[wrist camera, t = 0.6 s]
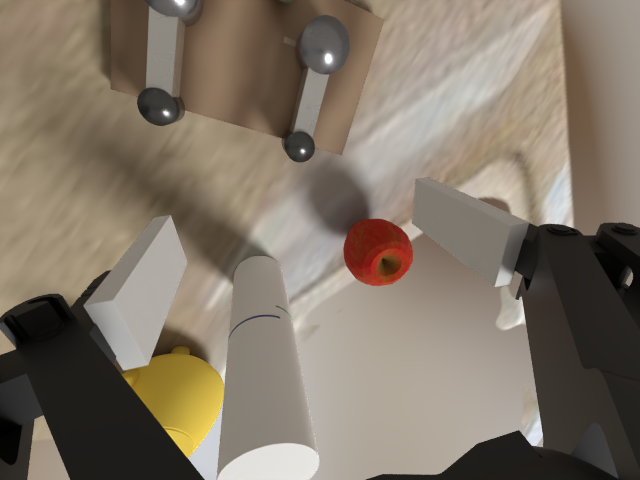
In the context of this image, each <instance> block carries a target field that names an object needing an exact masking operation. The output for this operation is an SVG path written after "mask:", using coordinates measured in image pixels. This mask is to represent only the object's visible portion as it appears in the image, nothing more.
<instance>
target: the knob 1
mask: <svg viewBox="0 0 640 480" xmlns="http://www.w3.org/2000/svg"><path fill="white" fill-rule="evenodd" d="M144 1H145V2H146V3H147V4H148V5H149V25H148V48H147V71H146V89H144V90H143V91H142V92H141V93H140V94H139V96H138V100H137V105H138V109H139V111H140V113H141V115H142V116H143V117H144V118H145V119H146V120H147V121H148V122H150V123H152V124H154V125H158V126H164V125H168V124H171V123H174V122H177V121H179V120H180V119H181V118H182V117H183V116H184V113H185V104H184V102H183V100H182V98H181V97H180V96H179V93H180V82H181V70H182V58H183V47H184V35H185V27H188V26H191V25H193V24H195V23H196V22H197V21H198V20H199V19H200V17H201V15H202V12H203V8H204V0H144Z"/></svg>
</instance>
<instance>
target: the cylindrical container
mask: <svg viewBox="0 0 640 480" xmlns="http://www.w3.org/2000/svg"><path fill="white" fill-rule="evenodd" d="M318 467H319V456H318V450H317V445H316V441H315V435H314V430H313V425H312V419H311V414H310V409H309V404H308V399H307V394H306V388H305V383H304V378H303V373H302V367H301V362H300V357H299V352H298V347H297V342H296V336H295V331H294V326H293V321H292V316H291V311H290V306H289V301H288V296H287V290H286V285H285V280H284V275H283V270H282V268H281V266H280V264H279V263H278V262H277V261H276V260H274V259H272V258H270V257H267V256H253V257H249V258H247V259H245V260H244V261H242V262H241V263H240V264H239V265H238V266H237V268H236V270H235V273H234V281H233V293H232V305H231V316H230V328H229V340H228V352H227V364H226V376H225V387H224V399H223V411H222V424H221V435H220V447H219V458H218V470H217V480H309V479H310V478H311V477H312V476H313V475H314V474H315V472H316V471H317V469H318Z"/></svg>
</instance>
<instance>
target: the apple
mask: <svg viewBox="0 0 640 480" xmlns="http://www.w3.org/2000/svg"><path fill="white" fill-rule="evenodd" d="M344 259H345V262H346V266H347V267H348V269H349V270H350V271H351V273H352V274H353V275H354V277H355V278H356V279H358V280H359V281H361V282H363V283H365V284H369V285H372V286H381V285H388V284H393V283H394V282H396V281H397V280H399V279H400V278H401V277H402V276H403V275H404V274H405V273H406V272H407V271H408V270H409V268H410V266H411V264H412V260H413V250H412V245H411V242H410V240H409V238H408V236H407V234H406V233H405V232H404V231H403V230H402V229H401V228H399V227H397V226H396V225H394V224H393V223H391V222H389V221H386V220H383V219H364V220H361V221H359V222H358V223H356V224H354V225H353V226H352V228H351V229H350V231H349V232H348V234H347V237H346V240H345V243H344Z"/></svg>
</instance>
